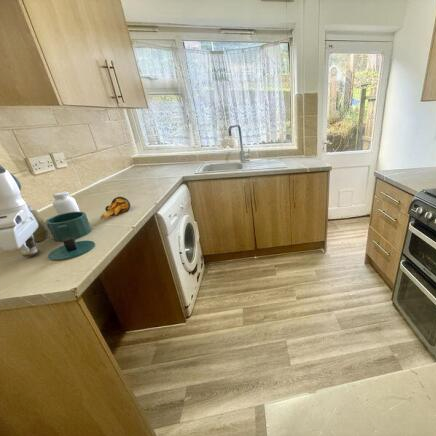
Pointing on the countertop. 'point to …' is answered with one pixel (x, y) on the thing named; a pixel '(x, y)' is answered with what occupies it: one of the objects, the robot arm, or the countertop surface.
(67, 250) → the pot lid
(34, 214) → the squeeze bottle
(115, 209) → the chicken drumstick
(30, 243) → the thread spool
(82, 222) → the pot
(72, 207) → the pill bottle
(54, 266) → the countertop surface
